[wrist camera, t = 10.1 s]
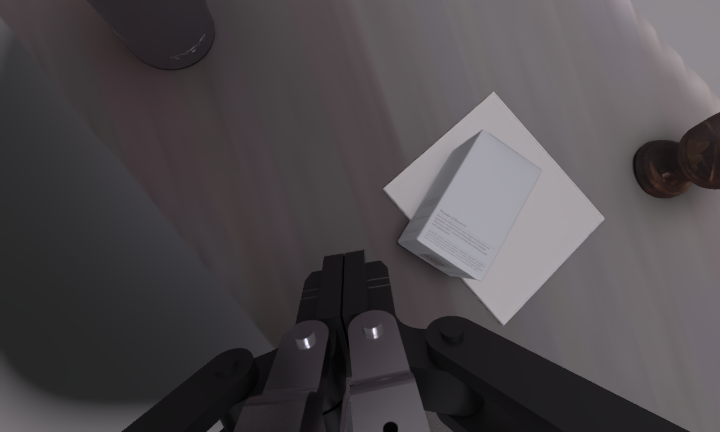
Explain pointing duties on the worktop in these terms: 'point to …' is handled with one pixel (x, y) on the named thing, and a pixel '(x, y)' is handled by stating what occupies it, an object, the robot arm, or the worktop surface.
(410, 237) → the supplement box
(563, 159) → the worktop surface
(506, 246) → the mat
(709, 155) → the mortar and pestle
